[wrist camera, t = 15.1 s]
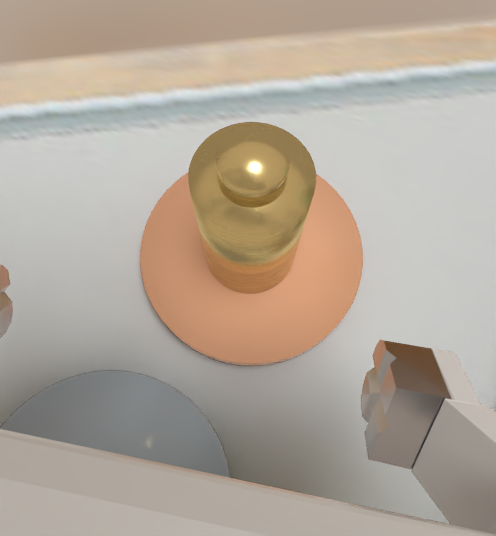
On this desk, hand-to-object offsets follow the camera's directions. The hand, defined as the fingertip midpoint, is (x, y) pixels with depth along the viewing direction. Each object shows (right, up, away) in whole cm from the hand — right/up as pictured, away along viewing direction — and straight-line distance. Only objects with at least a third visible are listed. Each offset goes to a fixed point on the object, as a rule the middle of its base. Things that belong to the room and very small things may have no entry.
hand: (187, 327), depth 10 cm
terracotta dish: (+1, +2, +14) cm, 14 cm away
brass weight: (+1, +2, +12) cm, 13 cm away
